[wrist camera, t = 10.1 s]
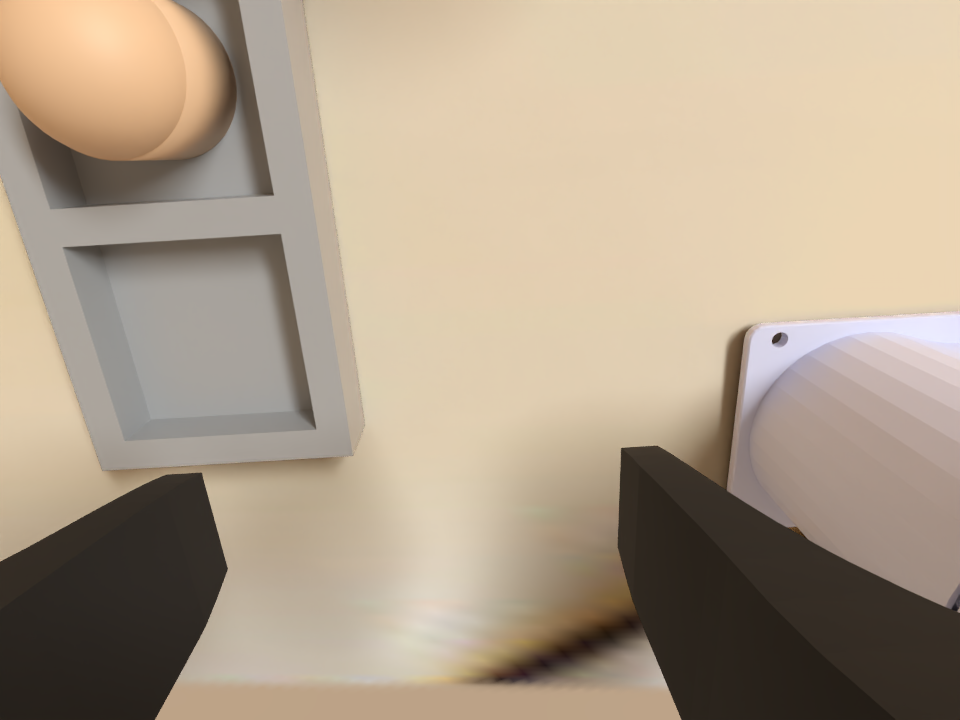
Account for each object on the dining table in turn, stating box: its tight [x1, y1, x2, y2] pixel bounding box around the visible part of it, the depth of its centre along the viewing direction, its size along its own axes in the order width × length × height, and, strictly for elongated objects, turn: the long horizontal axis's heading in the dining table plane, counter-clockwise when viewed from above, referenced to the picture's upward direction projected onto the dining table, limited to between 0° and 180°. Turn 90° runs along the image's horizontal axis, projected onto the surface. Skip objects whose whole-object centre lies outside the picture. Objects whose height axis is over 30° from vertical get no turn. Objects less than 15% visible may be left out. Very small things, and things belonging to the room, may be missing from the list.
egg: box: [0, 0, 237, 161], centre depth 13 cm, size 4×4×4 cm
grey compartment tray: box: [0, 0, 365, 471], centre depth 15 cm, size 8×22×2 cm, turn 3°
